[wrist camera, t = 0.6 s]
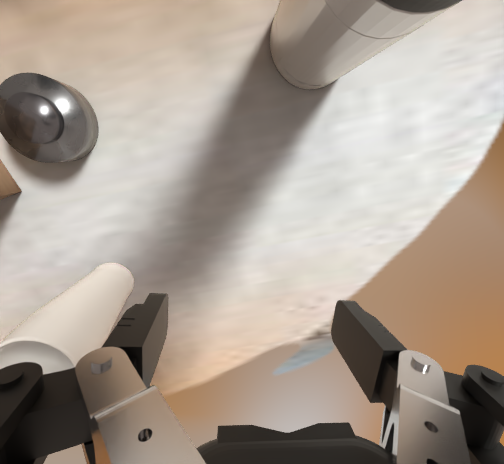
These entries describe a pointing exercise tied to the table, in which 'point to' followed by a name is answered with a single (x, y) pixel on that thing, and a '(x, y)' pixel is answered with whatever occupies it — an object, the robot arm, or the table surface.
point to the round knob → (46, 118)
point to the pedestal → (7, 183)
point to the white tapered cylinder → (70, 322)
